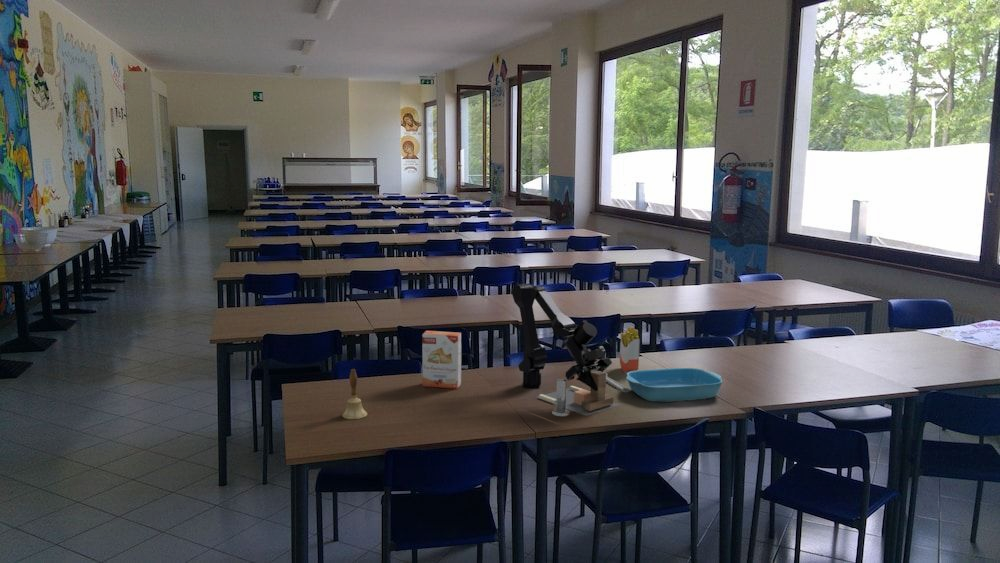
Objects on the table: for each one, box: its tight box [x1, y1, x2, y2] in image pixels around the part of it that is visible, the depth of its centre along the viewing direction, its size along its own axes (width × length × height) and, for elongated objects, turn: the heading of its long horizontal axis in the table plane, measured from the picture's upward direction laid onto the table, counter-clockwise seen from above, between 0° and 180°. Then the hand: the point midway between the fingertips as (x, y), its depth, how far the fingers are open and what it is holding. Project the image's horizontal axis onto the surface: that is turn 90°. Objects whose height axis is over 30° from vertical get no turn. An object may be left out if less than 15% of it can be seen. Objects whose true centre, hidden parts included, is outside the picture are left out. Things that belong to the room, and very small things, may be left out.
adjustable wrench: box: [603, 371, 630, 393], centre depth 283 cm, size 25×6×2 cm, turn 16°
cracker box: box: [421, 330, 462, 390], centre depth 276 cm, size 14×6×21 cm, turn 80°
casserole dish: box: [625, 367, 723, 403], centre depth 270 cm, size 37×22×7 cm, turn 105°
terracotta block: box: [574, 388, 591, 405], centre depth 258 cm, size 5×5×4 cm
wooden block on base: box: [581, 371, 614, 411], centre depth 252 cm, size 4×12×12 cm, turn 130°
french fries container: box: [619, 326, 641, 374], centre depth 298 cm, size 5×11×18 cm, turn 10°
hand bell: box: [342, 368, 368, 420], centre depth 244 cm, size 8×8×16 cm
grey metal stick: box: [551, 378, 570, 417], centre depth 246 cm, size 6×6×12 cm
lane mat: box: [535, 385, 622, 417], centre depth 260 cm, size 25×18×2 cm
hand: (600, 389), depth 251 cm, fingers closed on wooden block on base, 4 cm apart
